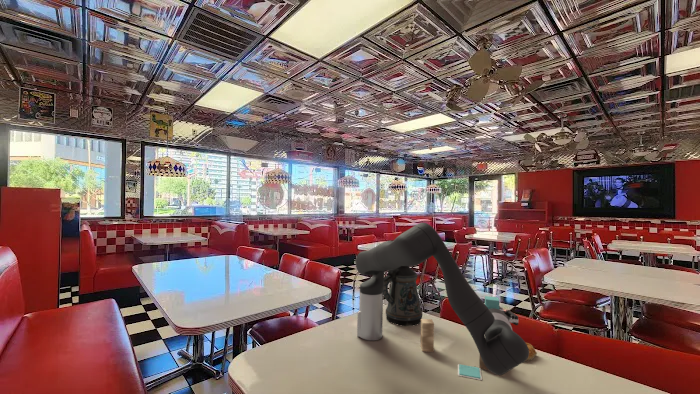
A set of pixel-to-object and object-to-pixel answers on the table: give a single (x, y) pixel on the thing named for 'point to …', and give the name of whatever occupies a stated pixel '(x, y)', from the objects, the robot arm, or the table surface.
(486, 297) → the teal block
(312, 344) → the table surface
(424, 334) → the oak block
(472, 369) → the tile
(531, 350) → the pastry
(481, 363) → the walnut block
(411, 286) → the beer stein
